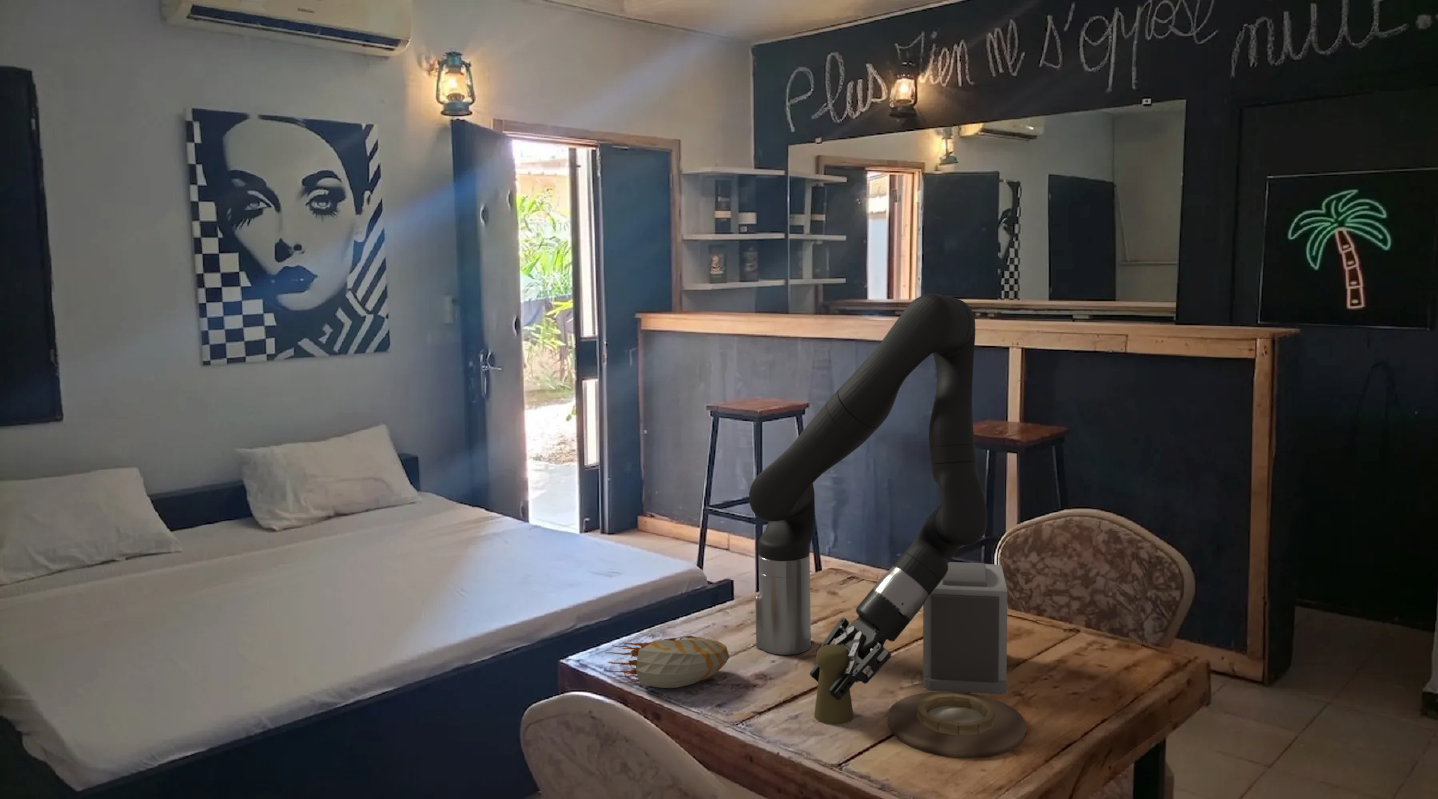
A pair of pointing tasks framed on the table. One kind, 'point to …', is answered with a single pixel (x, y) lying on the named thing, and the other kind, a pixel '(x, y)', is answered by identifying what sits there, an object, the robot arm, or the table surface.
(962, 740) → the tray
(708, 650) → the nautilus
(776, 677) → the table surface
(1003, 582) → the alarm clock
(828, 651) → the cork
